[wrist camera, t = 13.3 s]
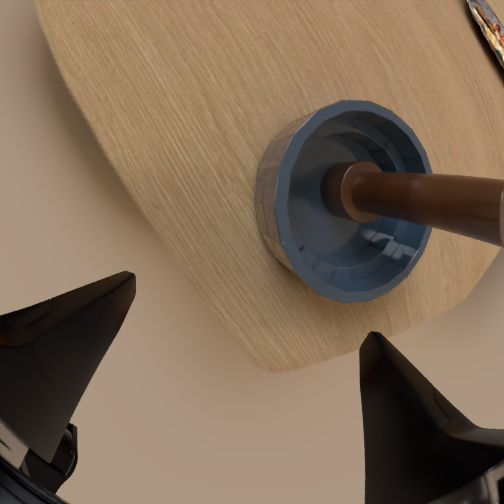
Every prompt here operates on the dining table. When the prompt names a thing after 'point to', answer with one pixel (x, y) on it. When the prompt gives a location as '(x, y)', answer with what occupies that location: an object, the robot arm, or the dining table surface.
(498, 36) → the food plate
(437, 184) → the pestle
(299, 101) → the dining table surface
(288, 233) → the bowl
